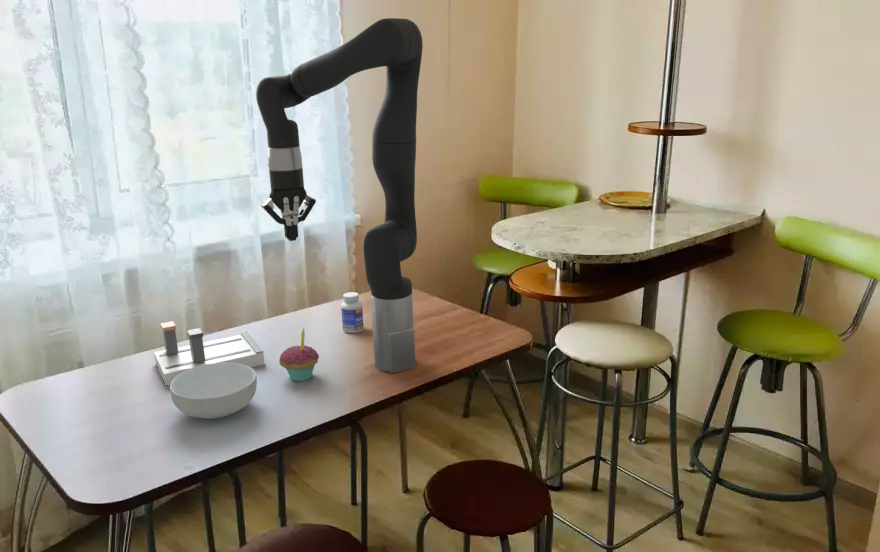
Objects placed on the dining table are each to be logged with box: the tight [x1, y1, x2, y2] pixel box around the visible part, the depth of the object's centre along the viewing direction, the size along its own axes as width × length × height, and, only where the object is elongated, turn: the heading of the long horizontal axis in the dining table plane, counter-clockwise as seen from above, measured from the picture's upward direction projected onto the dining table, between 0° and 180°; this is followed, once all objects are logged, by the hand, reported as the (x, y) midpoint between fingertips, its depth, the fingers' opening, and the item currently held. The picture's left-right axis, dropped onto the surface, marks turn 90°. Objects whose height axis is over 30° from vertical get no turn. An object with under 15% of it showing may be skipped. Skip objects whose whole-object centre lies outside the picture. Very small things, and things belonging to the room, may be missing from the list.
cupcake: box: [278, 328, 320, 382], centre depth 163 cm, size 9×8×12 cm
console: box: [153, 331, 265, 387], centre depth 172 cm, size 14×22×3 cm, turn 119°
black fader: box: [186, 327, 205, 363], centre depth 165 cm, size 3×3×7 cm
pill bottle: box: [340, 291, 364, 334], centre depth 189 cm, size 5×5×10 cm
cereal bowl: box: [169, 363, 258, 420], centre depth 149 cm, size 17×17×7 cm
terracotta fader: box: [160, 320, 179, 355], centre depth 170 cm, size 3×3×7 cm
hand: (292, 239), depth 173 cm, fingers closed
